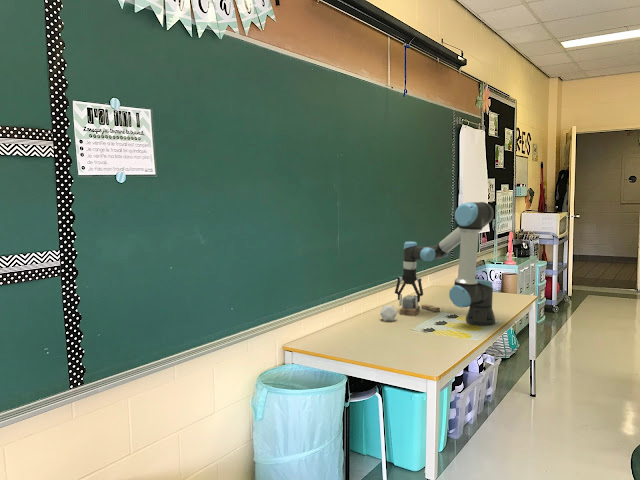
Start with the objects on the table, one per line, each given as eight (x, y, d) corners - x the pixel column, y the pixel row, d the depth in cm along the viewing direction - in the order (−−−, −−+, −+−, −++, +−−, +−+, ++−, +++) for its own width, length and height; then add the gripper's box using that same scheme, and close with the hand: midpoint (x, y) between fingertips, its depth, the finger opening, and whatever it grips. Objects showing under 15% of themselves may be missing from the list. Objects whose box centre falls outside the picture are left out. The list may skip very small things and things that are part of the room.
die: (392, 324, 270) (401, 308, 272) (377, 315, 271) (386, 300, 273) (390, 326, 278) (398, 310, 280) (376, 317, 279) (384, 302, 282)
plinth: (419, 310, 297) (419, 305, 297) (415, 315, 285) (415, 310, 285) (404, 309, 300) (404, 304, 300) (399, 314, 288) (399, 309, 288)
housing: (417, 305, 296) (417, 295, 295) (412, 309, 287) (412, 298, 286) (407, 304, 299) (407, 294, 298) (402, 308, 290) (402, 297, 289)
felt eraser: (439, 312, 295) (440, 307, 295) (434, 313, 293) (434, 308, 293) (426, 308, 305) (426, 304, 305) (421, 309, 304) (421, 304, 303)
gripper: (429, 268, 290) (428, 306, 292) (392, 266, 298) (391, 303, 300) (427, 270, 283) (426, 309, 285) (389, 267, 291) (388, 305, 293)
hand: (408, 306), depth 293 cm, fingers open, 9 cm apart
